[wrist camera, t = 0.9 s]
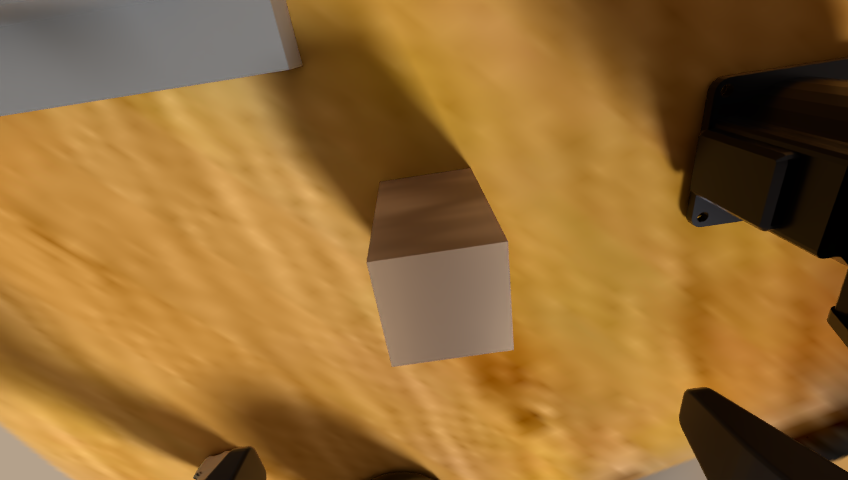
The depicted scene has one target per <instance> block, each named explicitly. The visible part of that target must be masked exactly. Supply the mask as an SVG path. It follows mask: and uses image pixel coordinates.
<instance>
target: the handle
mask: <svg viewBox="0 0 848 480" xmlns="http://www.w3.org/2000/svg"><path fill="white" fill-rule="evenodd" d="M229 452H230V451H224V452H223V453H222V454H219V455H216V456H209V457H207V458H206V459H205V460H204V461H203V462H202V464H201V465H200V467H199V468H198V470H197V472H196V473H195V475H194V477H193V478H194V479H196V480H204V479H205V478H206V477H207V476H208V475H209V474H210V473H211V472H212V470H213V469H214V468H215V467H216V466H217V465H218V464H219V463H220V461H221V460H222V459H223V458H224V457H225V456H226V455H227V454H228V453H229Z"/></svg>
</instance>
